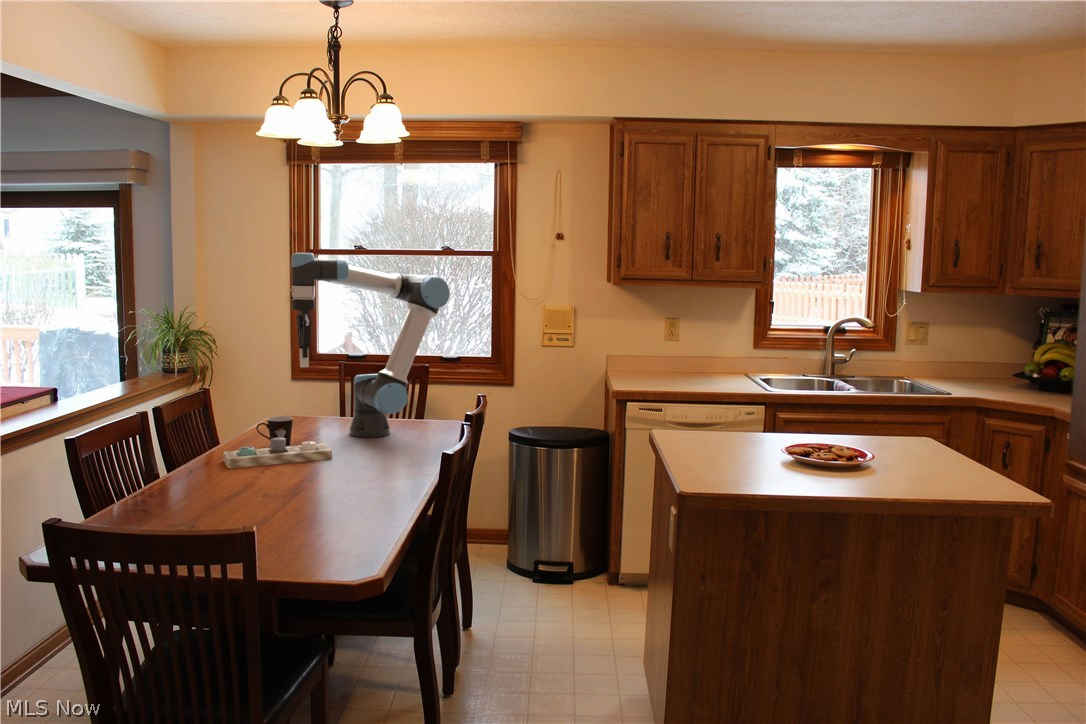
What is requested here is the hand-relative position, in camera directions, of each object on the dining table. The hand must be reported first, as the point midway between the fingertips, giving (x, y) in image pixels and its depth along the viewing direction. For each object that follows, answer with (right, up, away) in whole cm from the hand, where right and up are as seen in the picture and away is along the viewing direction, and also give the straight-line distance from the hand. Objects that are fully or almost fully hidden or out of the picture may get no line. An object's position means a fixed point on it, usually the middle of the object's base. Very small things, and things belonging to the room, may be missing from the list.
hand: (304, 366), depth 291 cm
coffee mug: (-12, -28, +9) cm, 32 cm away
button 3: (-15, -31, -15) cm, 37 cm away
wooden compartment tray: (-6, -31, -10) cm, 33 cm away
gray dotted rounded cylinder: (-6, -28, -10) cm, 31 cm away
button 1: (+3, -30, -5) cm, 31 cm away
